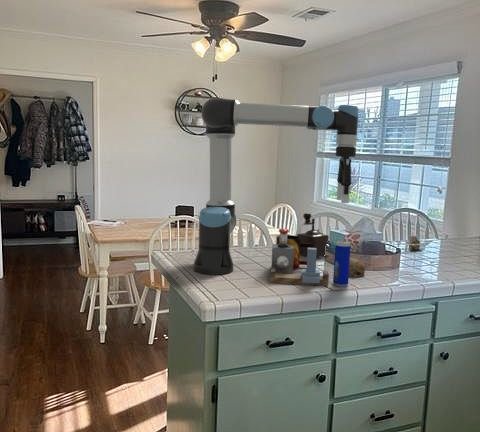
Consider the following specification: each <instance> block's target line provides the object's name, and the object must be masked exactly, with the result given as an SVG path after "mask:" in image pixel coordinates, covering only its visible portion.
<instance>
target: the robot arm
mask: <svg viewBox="0 0 480 432" xmlns="http://www.w3.org/2000/svg"><path fill="white" fill-rule="evenodd" d="M200 113H201V118H202V121H203V123H204V124H205V135H206V137H207V138H208V139H209V200H208V201H206V203H205V207H204V208H202V209H201V210H200V211H199V215H198V222H199V225H198V251H197V253H196V256H195V259H194V262H193V271H194V272H196V273H200V274H205V275H223V274H229V273H232V272H234V262H233V259H232V255H231V251H230V245H231V244H230V243H231V242H230V241H231V235H230V234H231V233H232V232H234V230H235V228H236V225H237V216H236V204H235V202H234V201H233V199H232V139H233V138H234V137H235V136H236V127H237V126H238V125H251V126H252V125H253V126H254V125H255V126H256V125H257V126H275V127H295V128H296V127H297V128H298V127H299V128H300V127H301V128H306V129H307V130H312V131H313V130H314V131H336V137H335V138H336V139H335V140H336V141H335V145H336V147H335V157H341V158H339V160H338V161H339V162H338V172H337V178H336V181H337V188H336V189H337V192H336V200H337V201H340V202H341V204H349V203H350V193H351V191H350V190H351V184H352V158H355V157H356V151H357V148H356V147H355V146H357V141H358V140H359V138H358V137H357V135H358V124H359V107H358V106H357V105H355V104H340V105H338V109H336V110H335V109H334V110H333V109H332V108H331V107H329V106H328V105H319V106H318V105H317V106H316V105H315V106H314V105H297V104H296V105H294V104H278V103H276V104H275V103H272V104H271V103H251V102H250V103H249V102H240V101H239V100H238V99H230V98H222V97H217V96H216V97H212V98H209V99H207V100H206V101H205V102H204V104H203V106H202V108H201V112H200ZM350 158H351V159H350Z"/></svg>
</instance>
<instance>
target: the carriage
mask: <svg viewBox="0 0 480 432" xmlns="http://www.w3.org/2000/svg"><path fill="white" fill-rule="evenodd" d="M316 255H317V249H316V248H308V249H307V257H306V261H307V265H306V268H302V269H301V275H302V282H305V283H320V276H321V272H320V270H319V269H317V268H316V267H317V257H316Z"/></svg>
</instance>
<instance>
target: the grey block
mask: <svg viewBox="0 0 480 432" xmlns="http://www.w3.org/2000/svg"><path fill="white" fill-rule="evenodd" d="M271 249H272V251H271V267H270V269H271V268H275V273H279V274H294V269H293V259H294V245H287V248H285V247H279V244H276V243H272V247H271Z"/></svg>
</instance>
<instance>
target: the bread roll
mask: <svg viewBox="0 0 480 432" xmlns="http://www.w3.org/2000/svg"><path fill="white" fill-rule="evenodd" d="M365 272H366V271H365V267H364V264H363V263H362V262H361V260H360V259H356V258H355V257H354V258H353V257H350V262H349V277H353V278H356V277H357V278H358V277H363V276H364V275H365Z"/></svg>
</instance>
